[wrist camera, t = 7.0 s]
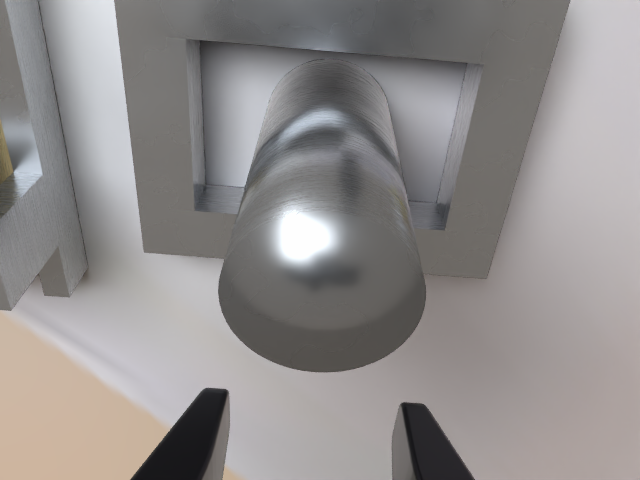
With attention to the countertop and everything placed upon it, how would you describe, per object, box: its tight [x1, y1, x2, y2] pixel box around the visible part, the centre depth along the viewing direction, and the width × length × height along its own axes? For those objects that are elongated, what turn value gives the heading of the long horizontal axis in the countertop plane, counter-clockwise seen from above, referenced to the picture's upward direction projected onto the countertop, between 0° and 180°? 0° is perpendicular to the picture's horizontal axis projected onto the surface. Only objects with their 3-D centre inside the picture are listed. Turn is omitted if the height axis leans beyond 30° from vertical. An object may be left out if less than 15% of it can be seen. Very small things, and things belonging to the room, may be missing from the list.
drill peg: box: [218, 59, 426, 372], centre depth 16 cm, size 4×4×10 cm
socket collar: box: [114, 0, 570, 279], centre depth 20 cm, size 13×10×2 cm
